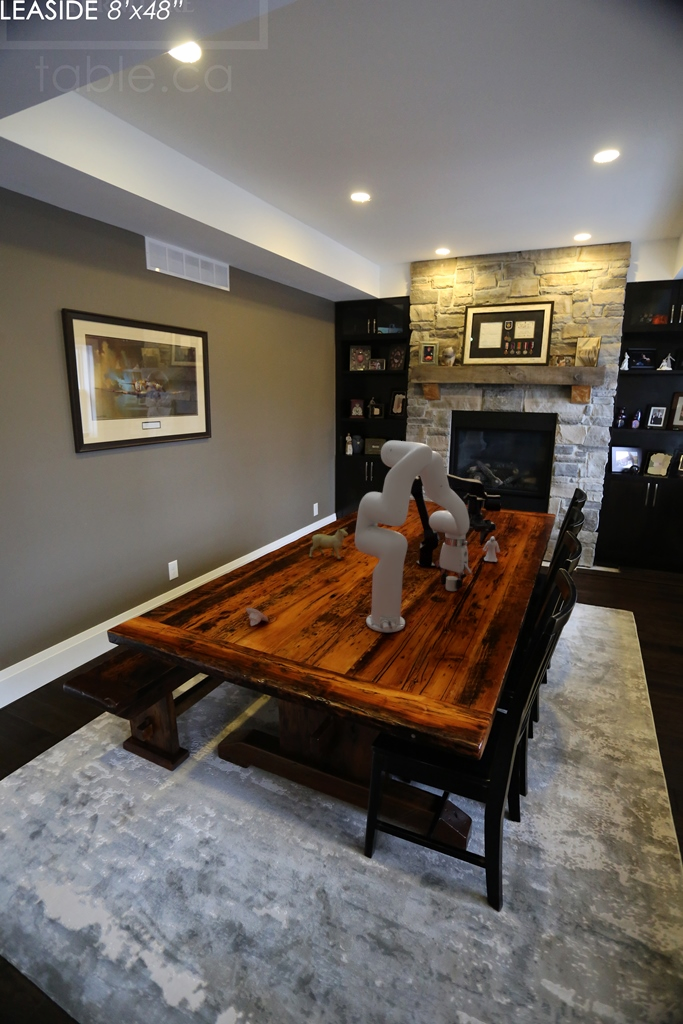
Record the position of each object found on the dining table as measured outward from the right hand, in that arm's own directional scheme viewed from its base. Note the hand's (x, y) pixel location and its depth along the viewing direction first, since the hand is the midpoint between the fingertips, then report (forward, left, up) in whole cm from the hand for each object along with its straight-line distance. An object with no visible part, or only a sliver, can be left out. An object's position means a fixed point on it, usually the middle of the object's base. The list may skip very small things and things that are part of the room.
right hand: (471, 545), depth 213 cm
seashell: (+38, -92, -10) cm, 100 cm away
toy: (-21, -58, -10) cm, 62 cm away
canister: (+21, -17, -10) cm, 29 cm away
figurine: (-7, +14, -10) cm, 18 cm away
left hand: (+21, -17, -9) cm, 29 cm away
